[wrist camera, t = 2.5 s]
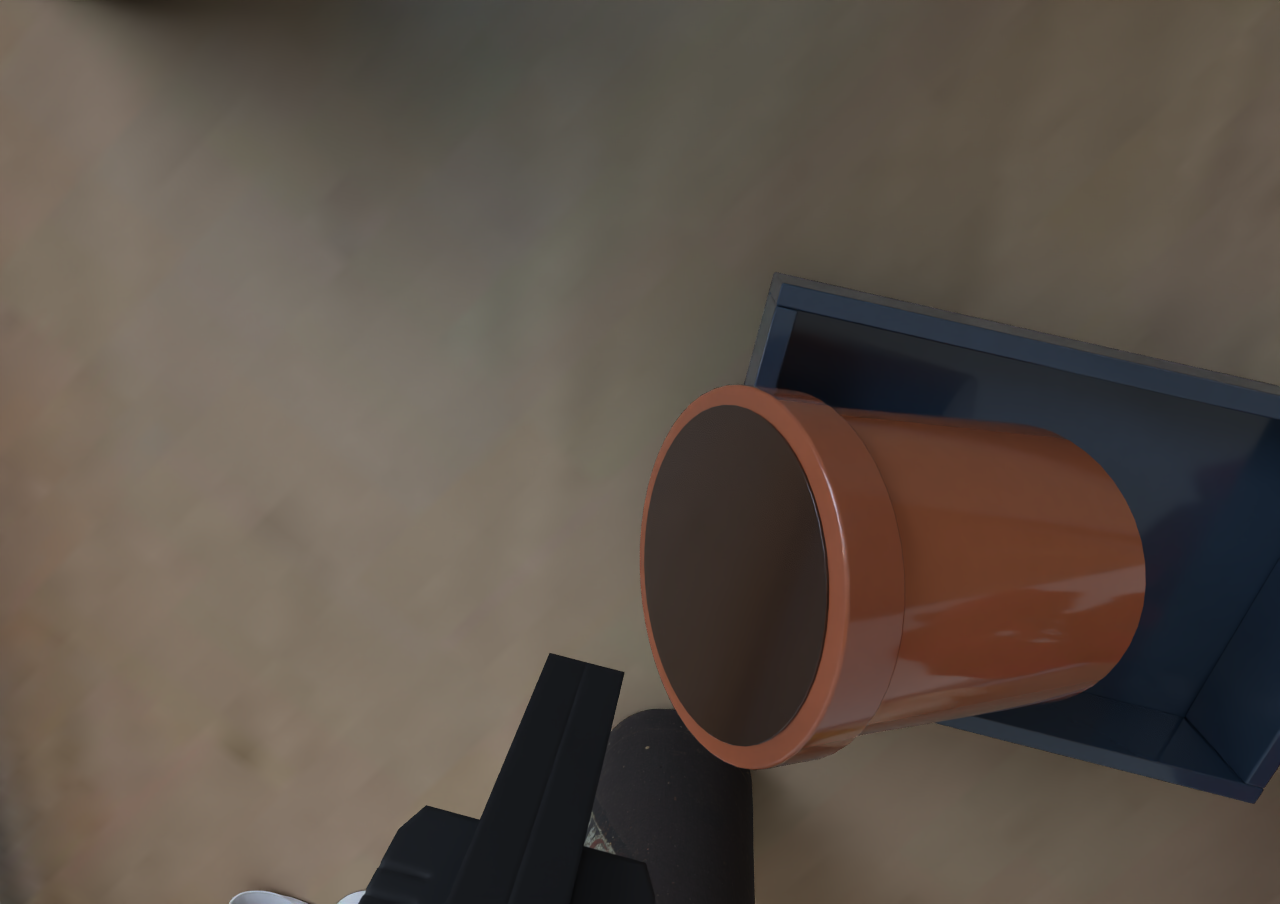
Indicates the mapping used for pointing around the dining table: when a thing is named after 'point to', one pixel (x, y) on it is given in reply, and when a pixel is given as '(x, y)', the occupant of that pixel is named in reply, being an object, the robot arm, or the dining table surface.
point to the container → (675, 812)
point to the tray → (1147, 478)
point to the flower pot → (874, 571)
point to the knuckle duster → (283, 898)
